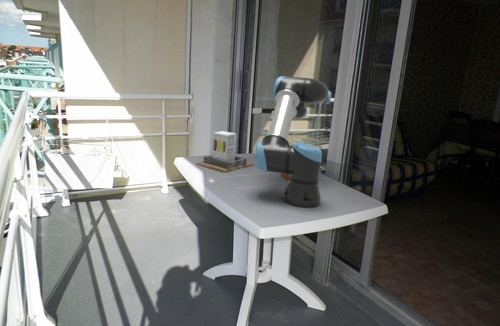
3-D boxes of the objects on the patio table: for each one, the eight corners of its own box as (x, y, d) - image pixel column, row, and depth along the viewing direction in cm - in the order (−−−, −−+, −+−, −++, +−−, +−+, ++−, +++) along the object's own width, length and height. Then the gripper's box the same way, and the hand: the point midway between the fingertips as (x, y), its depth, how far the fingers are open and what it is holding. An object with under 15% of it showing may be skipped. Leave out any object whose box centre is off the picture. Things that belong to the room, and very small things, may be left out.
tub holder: (224, 172, 173) (224, 165, 172) (196, 164, 184) (196, 157, 183) (252, 165, 192) (253, 158, 191) (225, 158, 203) (225, 151, 202)
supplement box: (211, 163, 185) (212, 132, 181) (220, 160, 193) (222, 130, 189) (225, 166, 181) (227, 134, 177) (235, 163, 189) (237, 133, 185)
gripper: (304, 121, 191) (279, 122, 176) (270, 115, 208) (245, 116, 193) (305, 107, 189) (281, 107, 174) (271, 103, 206) (246, 102, 191)
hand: (262, 112), depth 183 cm, fingers open, 13 cm apart
